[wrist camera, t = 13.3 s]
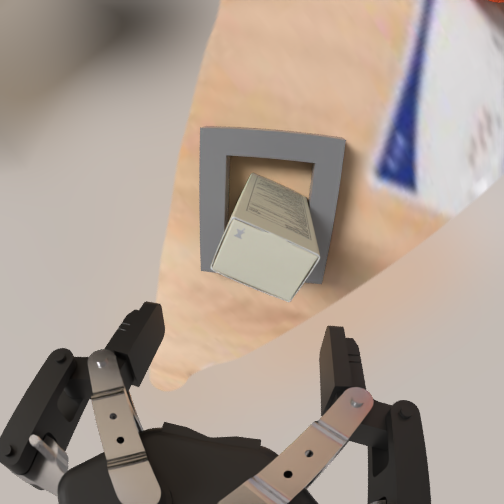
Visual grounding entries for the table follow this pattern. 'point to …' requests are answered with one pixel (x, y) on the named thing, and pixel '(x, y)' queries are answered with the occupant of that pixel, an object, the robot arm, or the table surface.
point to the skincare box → (268, 240)
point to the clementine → (497, 1)
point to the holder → (275, 147)
